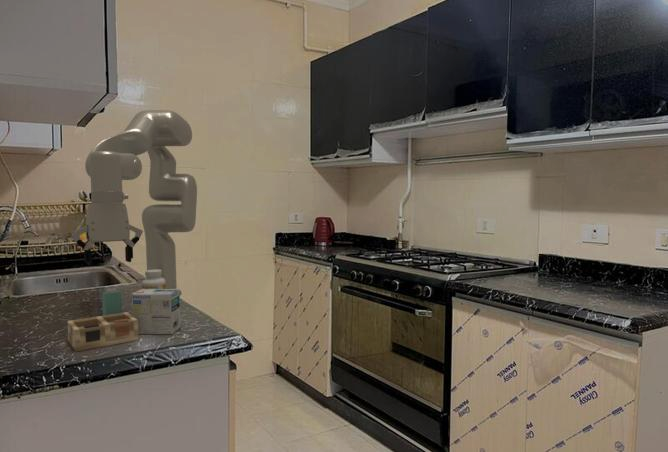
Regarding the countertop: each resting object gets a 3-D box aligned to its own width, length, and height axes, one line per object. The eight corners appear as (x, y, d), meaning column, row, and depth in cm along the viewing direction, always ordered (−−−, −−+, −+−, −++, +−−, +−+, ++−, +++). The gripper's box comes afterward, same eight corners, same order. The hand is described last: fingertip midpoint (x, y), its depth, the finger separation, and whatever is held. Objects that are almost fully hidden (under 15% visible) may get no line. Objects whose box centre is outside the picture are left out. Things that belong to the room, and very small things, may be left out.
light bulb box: (181, 327, 133) (180, 288, 132) (173, 335, 127) (171, 293, 126) (142, 327, 134) (141, 288, 133) (131, 334, 127) (130, 293, 126)
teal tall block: (103, 327, 133) (101, 288, 132) (118, 325, 136) (117, 287, 135) (106, 331, 130) (104, 291, 129) (122, 328, 133) (121, 289, 132)
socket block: (68, 340, 122) (67, 319, 122) (127, 330, 130) (126, 310, 130) (76, 351, 114) (75, 329, 113) (138, 340, 122) (138, 319, 122)
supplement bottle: (160, 308, 153) (158, 267, 152) (170, 312, 149) (169, 270, 148) (139, 312, 148) (137, 270, 147) (149, 316, 144) (148, 273, 143)
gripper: (137, 198, 138) (139, 259, 139) (67, 198, 128) (70, 264, 129) (145, 198, 132) (147, 261, 133) (73, 199, 122) (75, 268, 123)
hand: (109, 263), depth 131 cm, fingers open, 9 cm apart
